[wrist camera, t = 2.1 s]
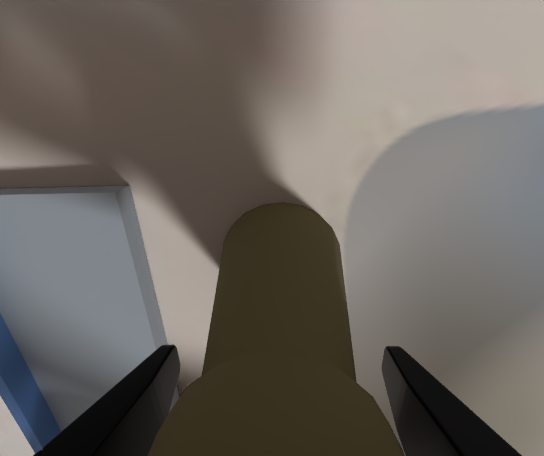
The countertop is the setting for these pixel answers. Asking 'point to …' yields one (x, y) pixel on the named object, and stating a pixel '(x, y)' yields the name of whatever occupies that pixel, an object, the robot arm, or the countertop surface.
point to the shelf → (71, 302)
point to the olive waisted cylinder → (278, 352)
